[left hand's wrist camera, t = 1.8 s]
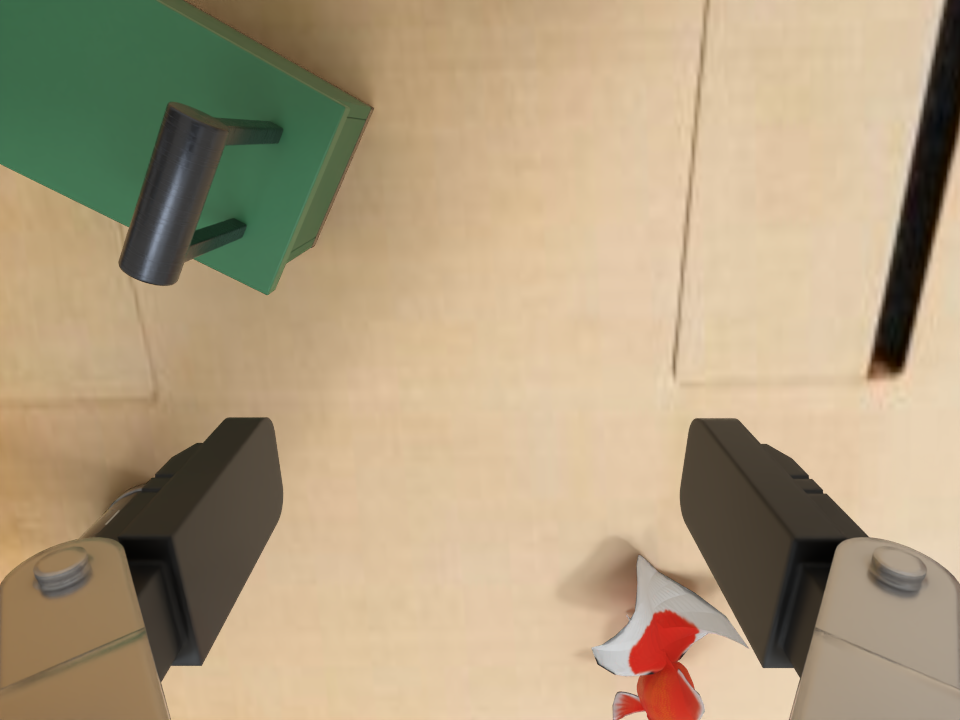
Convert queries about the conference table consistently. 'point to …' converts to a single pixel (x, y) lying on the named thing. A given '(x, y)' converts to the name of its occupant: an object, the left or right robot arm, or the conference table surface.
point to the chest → (358, 109)
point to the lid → (164, 133)
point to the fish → (661, 647)
